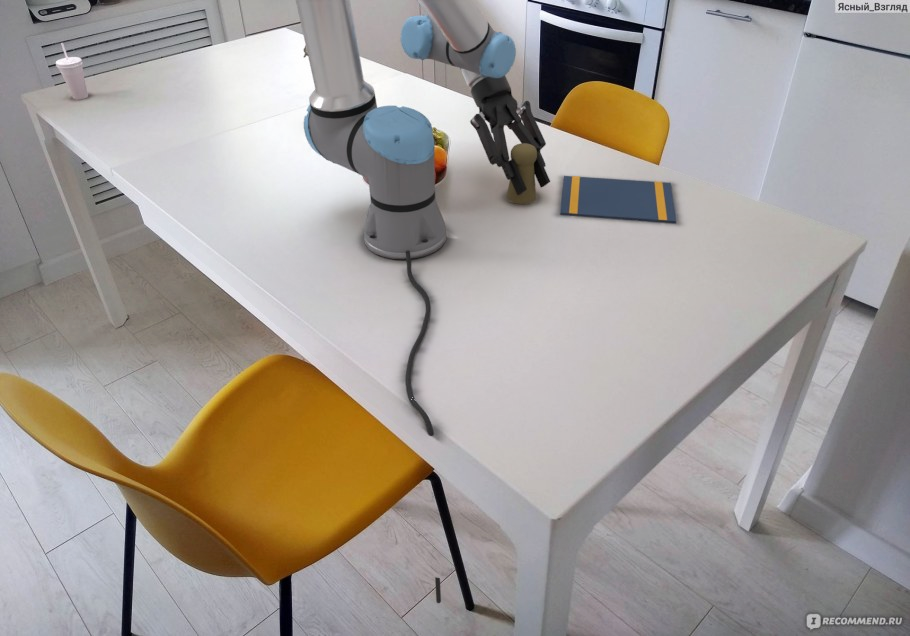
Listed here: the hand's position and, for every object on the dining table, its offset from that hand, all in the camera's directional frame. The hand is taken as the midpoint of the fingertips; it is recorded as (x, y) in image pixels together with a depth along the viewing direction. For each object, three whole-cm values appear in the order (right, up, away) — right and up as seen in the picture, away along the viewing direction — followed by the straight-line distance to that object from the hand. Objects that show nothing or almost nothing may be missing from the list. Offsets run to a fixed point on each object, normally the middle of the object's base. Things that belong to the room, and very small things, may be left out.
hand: (533, 188), depth 140 cm
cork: (-2, -1, +5) cm, 5 cm away
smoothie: (-117, +34, +52) cm, 132 cm away
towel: (+17, -2, +4) cm, 18 cm away
